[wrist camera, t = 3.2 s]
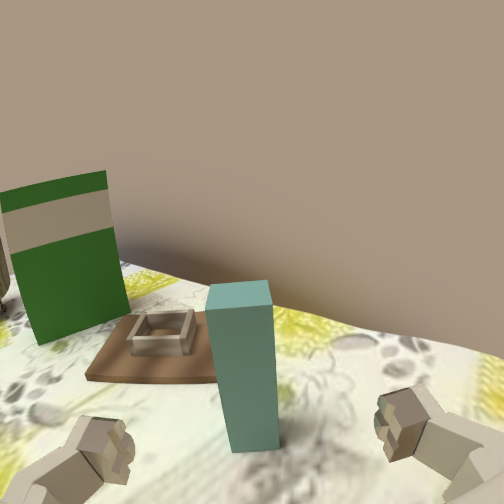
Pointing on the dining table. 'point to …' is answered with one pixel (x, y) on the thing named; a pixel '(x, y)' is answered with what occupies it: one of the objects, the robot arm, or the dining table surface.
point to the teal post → (245, 362)
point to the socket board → (156, 350)
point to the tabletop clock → (3, 277)
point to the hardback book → (65, 254)
